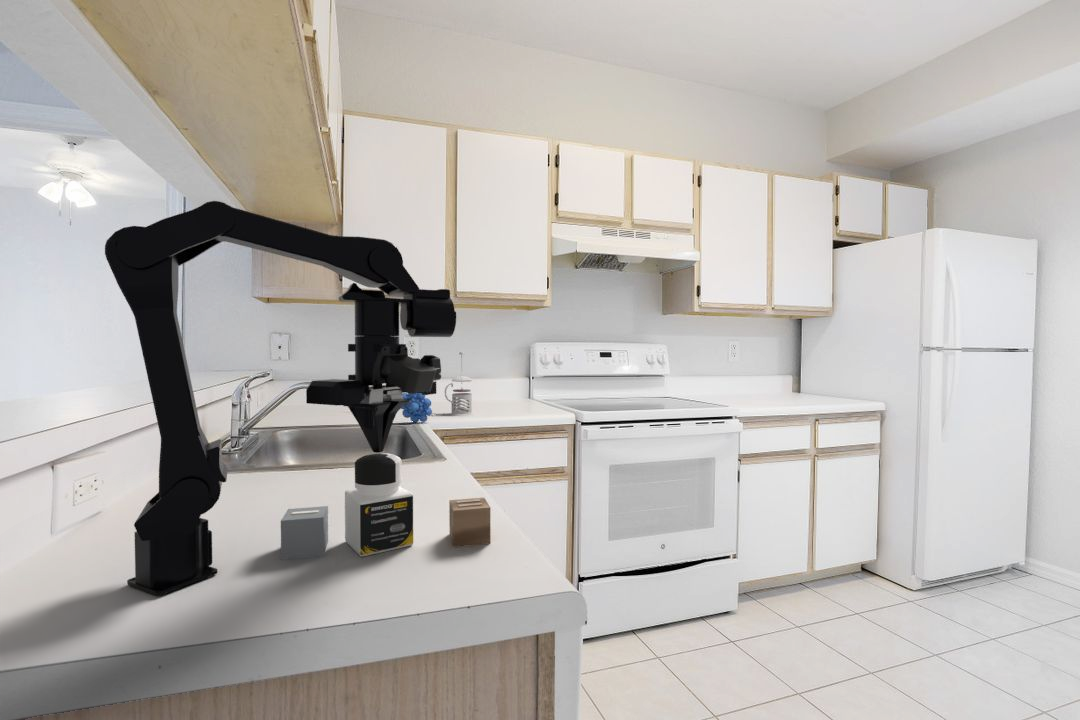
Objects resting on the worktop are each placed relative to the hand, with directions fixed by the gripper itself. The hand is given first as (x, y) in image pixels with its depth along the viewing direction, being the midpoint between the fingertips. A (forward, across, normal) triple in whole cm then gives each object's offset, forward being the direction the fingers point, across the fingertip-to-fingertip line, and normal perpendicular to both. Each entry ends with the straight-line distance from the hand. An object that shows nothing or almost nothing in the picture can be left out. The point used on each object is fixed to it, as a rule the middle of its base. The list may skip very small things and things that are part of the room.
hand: (377, 452), depth 71 cm
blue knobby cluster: (+13, +92, +70) cm, 116 cm away
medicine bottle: (+13, 0, 0) cm, 13 cm away
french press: (+13, +119, +70) cm, 139 cm away
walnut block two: (+13, +7, -10) cm, 18 cm away
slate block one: (+13, -6, +7) cm, 16 cm away
